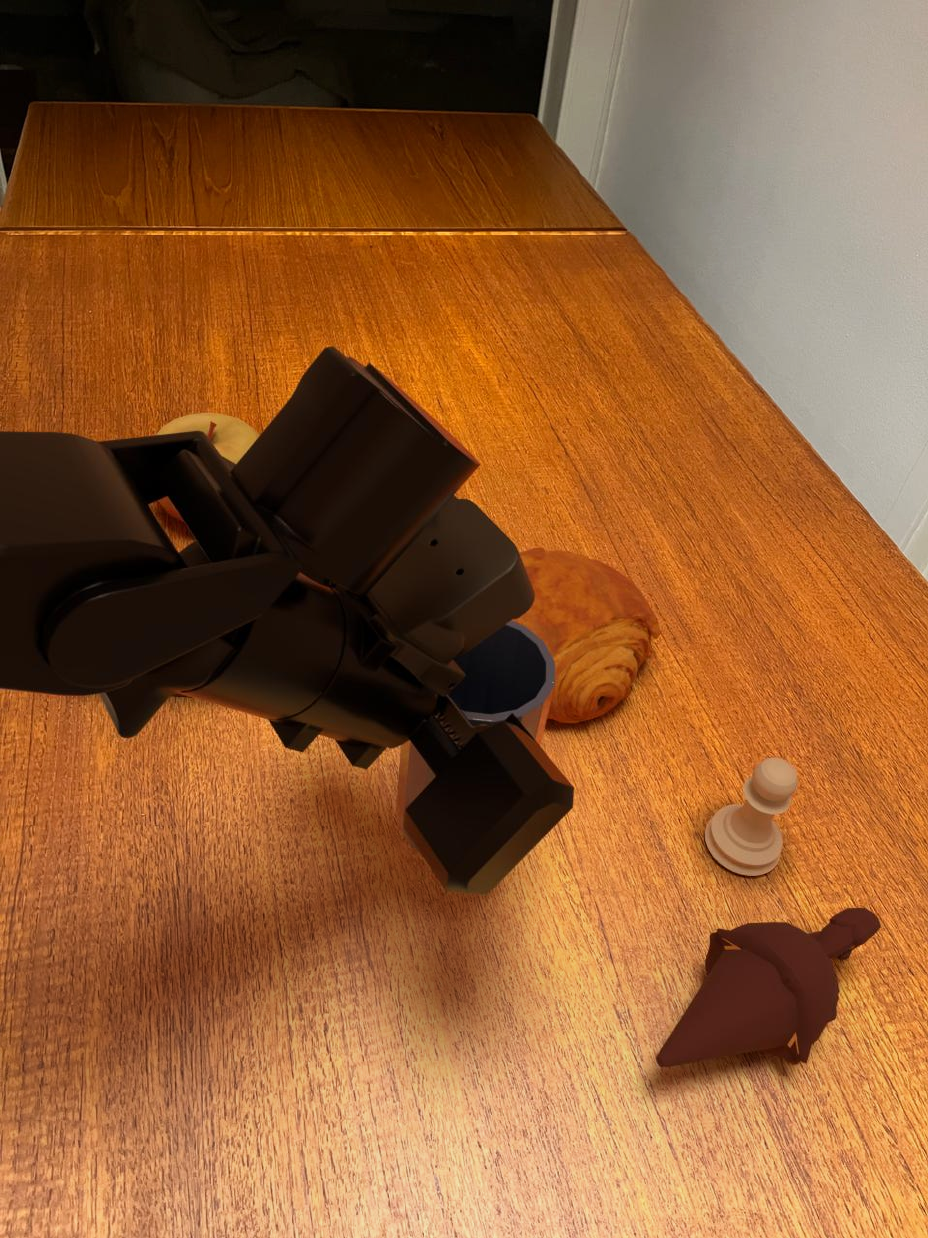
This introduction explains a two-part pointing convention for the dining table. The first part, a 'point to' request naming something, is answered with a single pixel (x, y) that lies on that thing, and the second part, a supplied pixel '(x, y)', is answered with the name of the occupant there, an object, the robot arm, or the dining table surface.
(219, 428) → the apple
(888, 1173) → the dining table surface
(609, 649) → the croissant
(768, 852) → the chess piece
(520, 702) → the cup
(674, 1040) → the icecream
